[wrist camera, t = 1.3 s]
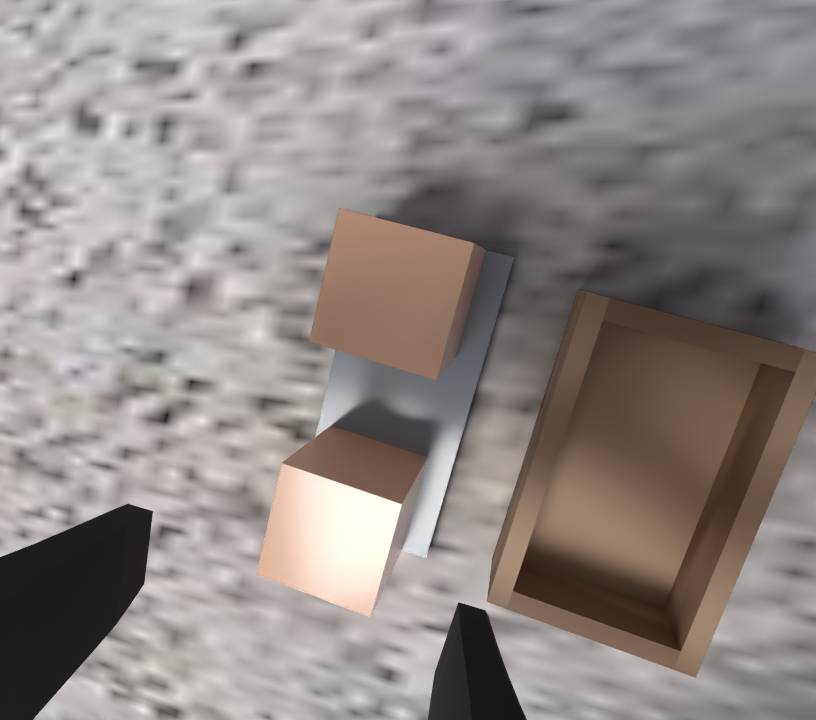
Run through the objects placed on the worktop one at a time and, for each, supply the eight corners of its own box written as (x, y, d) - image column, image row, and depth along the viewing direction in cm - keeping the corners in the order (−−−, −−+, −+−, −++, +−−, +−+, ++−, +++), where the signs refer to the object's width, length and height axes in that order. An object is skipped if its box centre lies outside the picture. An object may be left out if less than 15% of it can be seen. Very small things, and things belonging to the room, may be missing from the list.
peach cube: (401, 549, 22) (370, 617, 18) (308, 516, 23) (256, 574, 18) (427, 457, 21) (402, 504, 17) (330, 425, 22) (281, 463, 18)
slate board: (429, 548, 23) (425, 558, 22) (305, 504, 24) (297, 512, 23) (514, 257, 20) (513, 257, 19) (372, 220, 21) (366, 218, 20)
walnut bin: (672, 622, 21) (695, 677, 18) (492, 559, 22) (487, 601, 19) (784, 343, 19) (831, 356, 16) (578, 289, 20) (587, 291, 17)
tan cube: (455, 357, 20) (436, 380, 16) (354, 327, 21) (309, 341, 17) (486, 249, 20) (474, 242, 15) (379, 222, 20) (339, 207, 16)
